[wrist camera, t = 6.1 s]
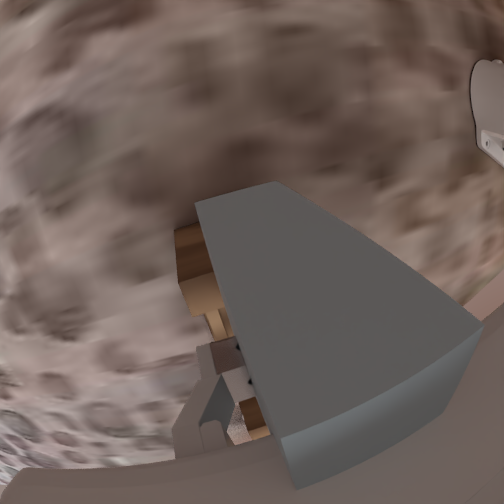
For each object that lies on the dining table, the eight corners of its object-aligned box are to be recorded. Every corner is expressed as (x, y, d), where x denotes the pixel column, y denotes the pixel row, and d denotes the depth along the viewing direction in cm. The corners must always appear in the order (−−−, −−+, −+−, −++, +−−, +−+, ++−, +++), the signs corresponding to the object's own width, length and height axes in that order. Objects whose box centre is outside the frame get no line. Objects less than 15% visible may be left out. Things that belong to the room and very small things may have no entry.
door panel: (300, 337, 16) (391, 485, 8) (241, 357, 16) (307, 524, 7) (276, 180, 12) (484, 325, 3) (194, 202, 12) (279, 438, 3)
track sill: (287, 365, 40) (315, 418, 31) (234, 383, 39) (253, 441, 30) (253, 205, 29) (291, 246, 20) (174, 230, 28) (178, 282, 19)
